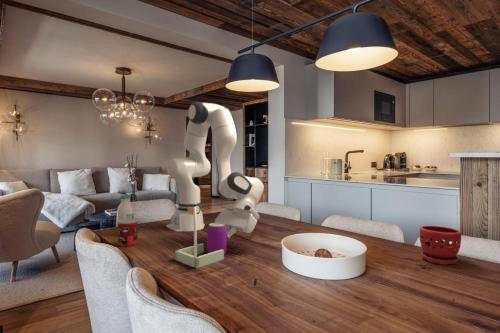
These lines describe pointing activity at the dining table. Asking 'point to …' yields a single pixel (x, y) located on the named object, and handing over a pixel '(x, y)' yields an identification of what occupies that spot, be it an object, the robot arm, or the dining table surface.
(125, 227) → the canned food
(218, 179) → the robot arm
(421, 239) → the plant pot
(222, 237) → the beverage can
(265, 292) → the dining table surface
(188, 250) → the cup corral
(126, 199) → the milk bottle
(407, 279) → the dining table surface
